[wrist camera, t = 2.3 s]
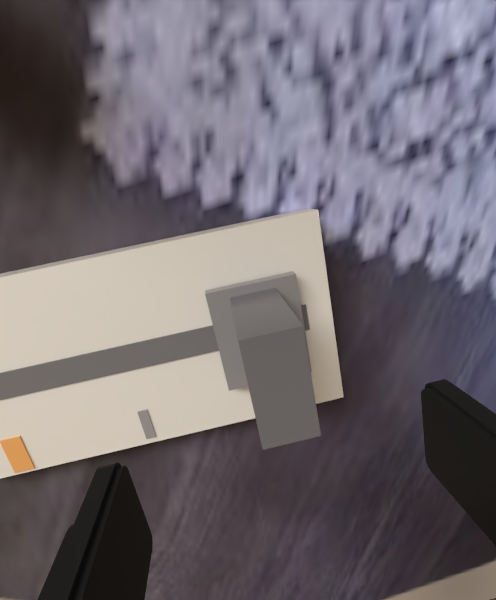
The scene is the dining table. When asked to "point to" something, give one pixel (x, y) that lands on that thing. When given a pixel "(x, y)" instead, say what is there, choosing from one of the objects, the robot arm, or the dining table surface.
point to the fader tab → (267, 354)
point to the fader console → (144, 340)
